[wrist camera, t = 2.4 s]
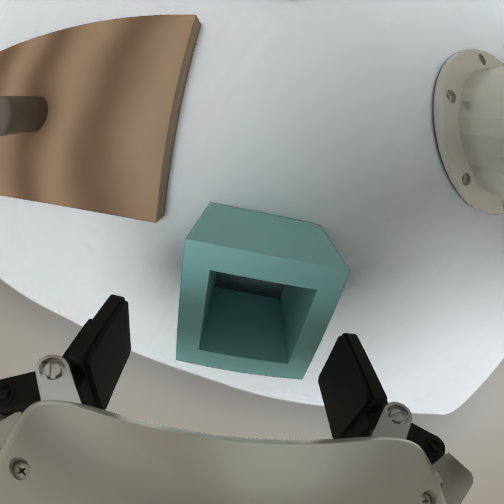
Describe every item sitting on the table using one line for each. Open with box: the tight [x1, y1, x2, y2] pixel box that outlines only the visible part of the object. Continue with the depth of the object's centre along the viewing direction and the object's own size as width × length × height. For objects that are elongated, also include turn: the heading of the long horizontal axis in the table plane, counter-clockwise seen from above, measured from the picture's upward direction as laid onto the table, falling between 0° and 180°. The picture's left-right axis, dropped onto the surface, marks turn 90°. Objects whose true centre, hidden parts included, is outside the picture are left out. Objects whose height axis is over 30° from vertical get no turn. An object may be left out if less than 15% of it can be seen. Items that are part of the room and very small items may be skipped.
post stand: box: [0, 15, 201, 223], centre depth 9 cm, size 20×12×8 cm, turn 78°
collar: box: [176, 202, 350, 380], centre depth 15 cm, size 7×7×6 cm
